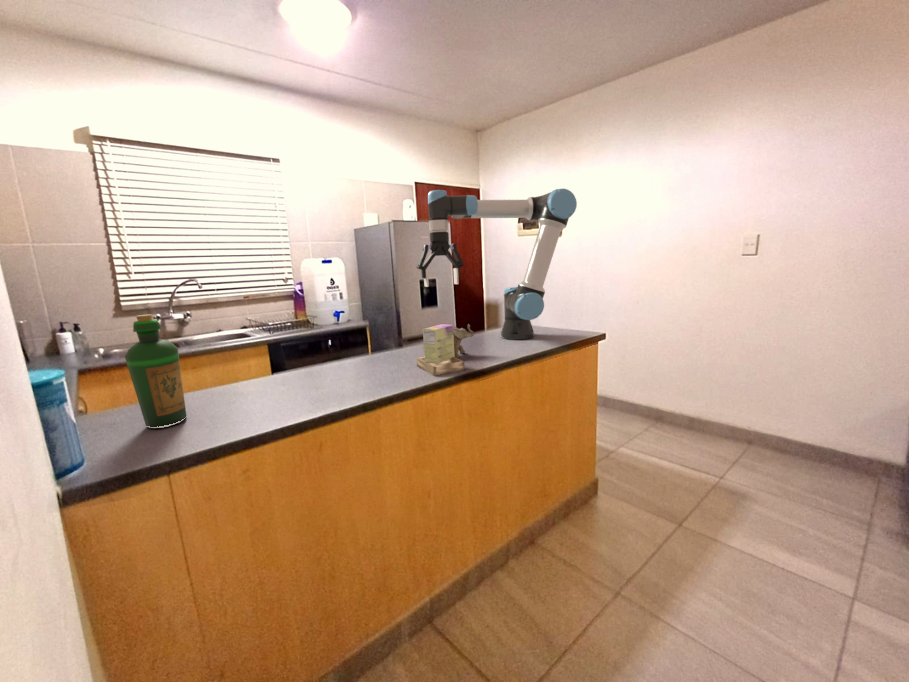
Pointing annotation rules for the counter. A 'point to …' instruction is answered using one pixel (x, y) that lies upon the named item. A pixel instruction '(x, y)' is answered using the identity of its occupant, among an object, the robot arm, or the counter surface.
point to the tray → (441, 366)
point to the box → (438, 343)
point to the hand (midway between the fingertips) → (441, 285)
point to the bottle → (156, 374)
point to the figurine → (458, 336)
